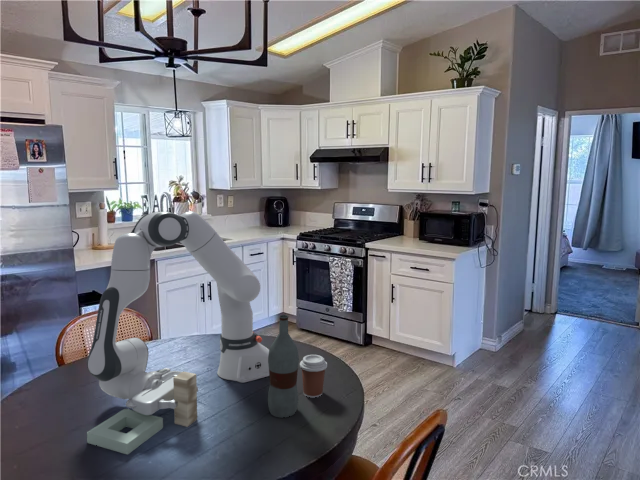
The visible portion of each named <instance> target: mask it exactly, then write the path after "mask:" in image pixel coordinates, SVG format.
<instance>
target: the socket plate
mask: <svg viewBox="0 0 640 480" xmlns="http://www.w3.org/2000/svg"><path fill="white" fill-rule="evenodd" d="M126 427H127V428H129V429H131V430H130V431H128V432H127V433H125V432H122V430H123V429H124V428H126ZM163 428H164V418H163V417H161V416H157V415H153V414H152V415H144V414H141V413H138V412H136V411H134V410H133V409H130V408H124V409H122V410H120V411H119V412H117V413H115V414H114V415H112V416H110V417H109V418H108V419H106V420H104V421H103V422H101V423H99V424H98V425H96V426H95V427H93V428H91V429H90V430H88V431H87V432H86V438H87V439H86V441H87V444H89V445H90V444H91V445H93V446H96V445H97V446H96V447H101V448H103V449H107V450H111V451H114V452H117V453H121V454H124V455H127V456H128V455H130V454H131V453H132V452H133V451H134V450H136V449H137V448H138V447H139V446H141V445H142V444H144V443H145V442H146V441H148V440H149V439H151V437H153V436H155V435H156V434H157V433H158V432H160V431H161V430H162V429H163Z"/></svg>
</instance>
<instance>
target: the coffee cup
mask: <svg viewBox="0 0 640 480" xmlns="http://www.w3.org/2000/svg"><path fill="white" fill-rule="evenodd" d="M327 367H328V362H327V361H325V357H323V356H321V355H318V354H307V355H305V356H303V358H302V360H301V361H300V362H299V368H300V369H301V375H302V391H303V393H302V394H303V395H304V396H305V397H306V396H307V398H309V397H310V398H309V399H315V397H317V398H320V397H322V396H323V394H324V383H325V375H326V374H325V373H326V369H327ZM321 395H322V396H321ZM319 396H320V397H319Z"/></svg>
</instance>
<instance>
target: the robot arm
mask: <svg viewBox="0 0 640 480" xmlns="http://www.w3.org/2000/svg"><path fill="white" fill-rule="evenodd" d="M178 243H180V244H181V245H183V247H185V249H186V250H187V251H188V252H189V254H191V256H192V257H193V259H195V260H196V262H198V264H199V266H201V268H203V270H204V271H205V272H206V273H207V274H208V275H209V276H210V277H212V280H214V281H215V282H216V288H217V297H218V302H219V308H220V316H221V317H220V318H221V320H220V321H221V324H220V325H221V326H220V327H221V334H220V339H219V349H220V357H219V358H220V360H219V364H218V368H217V372H216V373H217V376H218V377H220V378H221V379H224V380H228V381H235V382H238V383H243V384H244V383H247V382H252V381H255V380H259V379H263V378H265V377H269V365H268V355H269V349H270V348H267V346H265V345H263V344H262V343H261V342H262V341H263V338H262V337H261V336H260V335H258V334H257V333H256V332H254V326H253V325H254V323H253V321H254V317H253V316H254V314H253V310H252V306H251V302H253V301H254V300H256V298H257V297H258V296H259V294H260V293H261V283H260V280H259V279H258V278H257V276H256V275H255V274H254V272H253V271H252V270H251V268H249V267H248V265H246V264H245V262H244V261H243V260H242V259H241V258H240V257H239V256H238V255H237V254H236V253H235V252H234V251H233V250H232V249H231V248H230V247H229V246H228V244H227V243H226V241H224V240H223V239H222V237H221V236H220V235H219V234H218V232H217V230H215V228H214V227H213V226H212V225H211V224H210V223H209V222H208V221H207V220H206V219H204V218H203V216H201V215H200V214H199V213H198V212H196V211H191V210H190V211H186V212H183V213H182V214H180V215H179V214H177V213H173V212H172V211H171V212H170V211H154V212H150V213H148V214H145V215H143V216H142V217H140V218H139V220H138V221H137V222H136V224H135V225H134V227H133V229H132V230H131V232H127V233H123V234H121V235H119V236H118V237H117V238H116V239H115V241H114V245H113V249H112V256H111V266H110V277H109V281H108V285H107V287H106V289H105V290H104V291H103V293H102V295H101V297H100V300H99V305H98V309H97V314H96V315H97V316H96V320H95V321H96V322H95V327H94V334H93V340H92V344H91V346H90V347H91V348H90V350H89V353H88V356H87V360H86V366H87V370H88V372H89V374H90V375H91V376H92V377H93V378H94V379H96V380H98V385H99V388H100V389H101V390H102V391H103V393H105V394H107V395H109V396H111V397H114V398H118V399H121V400H126V402H125V407H126V408H128V409H132V410H133V411H136V412H138V413H141V414H144V415H153V414H155V413H156V412H157V411H159V410H165V409H172V410H174V408H176V407H177V406H178V401H176V400H174V381H173V378H174V377H175V376H177V375H178V374H180V373H182V372H183V371H179V370H171V368H169V367H164V368H162V369H158V370H155V371H148V372H146V370H147V366H148V361H149V355H150V354H149V348H148V346H147V344H146V342H145V341H144V340H142V339H141V338H139V337H131V338H130V337H129V338H126V339H122V340H119V341H117V334H118V328H119V321H120V316H121V315H122V313H123V311H124V310H125V308H127V307H128V306H129V305H130V304H131V303H133V302H134V301H136V300H138V299H139V298H141V297H142V296H143V295H144V294H145V293H146V291H148V288H149V284H150V281H151V259H152V254H153V251H154V250H155V249H157V248H163V247H172V246H174V245H177V244H178ZM198 392H199V387H198V386H197V393H198Z"/></svg>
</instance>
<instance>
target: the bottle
mask: <svg viewBox="0 0 640 480" xmlns="http://www.w3.org/2000/svg"><path fill="white" fill-rule="evenodd" d="M278 317H279V320H278V321H279V325H278V326H279V329H278V334H277V336H276V337H275V339H274V340H273V342H272V343H271V345H270V346H269V348H268V349H269V355H268V365H269V376H268V378H269V387H268V388H269V389H268V392H267V393H268V395H267V404H268V410H269V413H270V415H271V416H273V417H276V418H280V419H281V418H283V417H285V418H289V416H290V417H291V416H293V415H295V414H296V413H297V410H298V406H299V391H298V383H297V381H298V373H299V370H298V369H299V365H300V362H299V361H300V358H299V349H298V346H297V345H296V343H295V342H294V340H293V338H292V337H291V335H290V334H289V315H287V314H281V315H279V316H278ZM295 412H296V413H295Z"/></svg>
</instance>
